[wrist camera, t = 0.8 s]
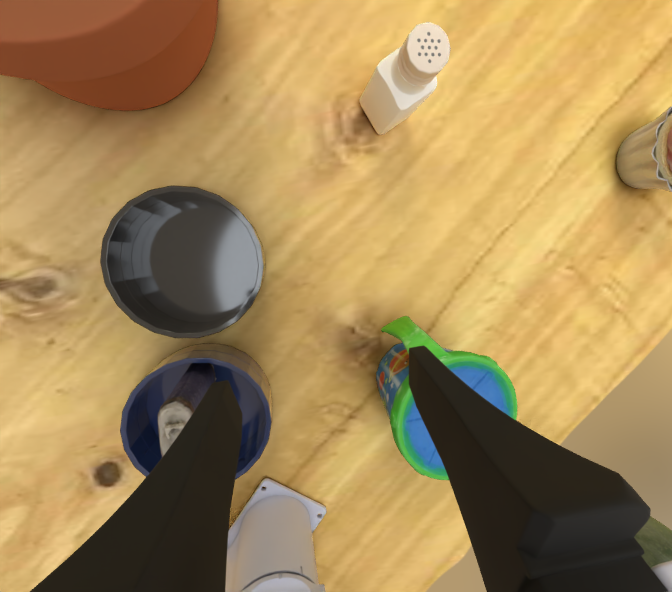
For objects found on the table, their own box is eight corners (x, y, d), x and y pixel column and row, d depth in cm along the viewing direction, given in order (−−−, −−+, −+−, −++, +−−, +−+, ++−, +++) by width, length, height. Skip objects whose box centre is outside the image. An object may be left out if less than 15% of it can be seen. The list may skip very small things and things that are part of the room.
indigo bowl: (229, 478, 33) (222, 512, 28) (116, 424, 30) (89, 453, 26) (294, 382, 33) (297, 401, 28) (187, 319, 30) (173, 330, 26)
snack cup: (469, 413, 37) (539, 471, 27) (387, 453, 36) (430, 529, 26) (429, 289, 34) (492, 303, 24) (338, 327, 33) (366, 359, 23)
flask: (234, 442, 32) (214, 532, 22) (204, 450, 32) (169, 546, 21) (212, 355, 31) (179, 407, 20) (180, 362, 30) (130, 419, 20)
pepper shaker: (377, 139, 31) (420, 91, 22) (355, 101, 30) (390, 34, 21) (410, 117, 32) (466, 60, 22) (388, 78, 31) (437, 2, 21)
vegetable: (508, 468, 39) (738, 680, 20) (509, 435, 39) (748, 619, 19) (539, 463, 40) (790, 661, 21) (541, 431, 39) (801, 603, 20)
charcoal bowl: (220, 349, 31) (211, 365, 27) (99, 279, 28) (67, 284, 24) (289, 247, 31) (292, 246, 27) (175, 167, 28) (156, 152, 24)
